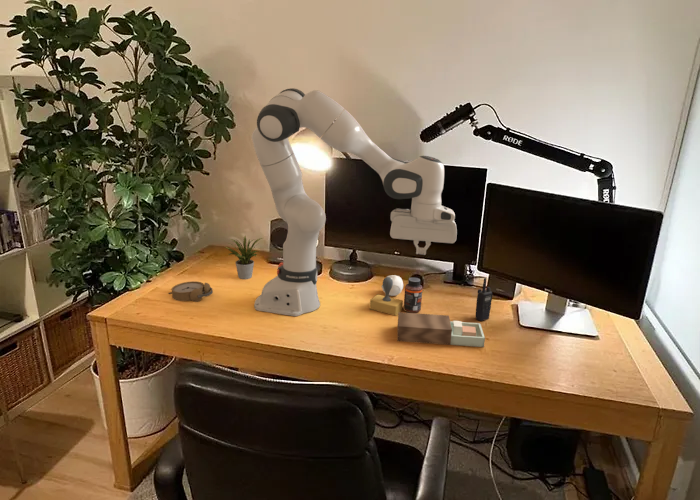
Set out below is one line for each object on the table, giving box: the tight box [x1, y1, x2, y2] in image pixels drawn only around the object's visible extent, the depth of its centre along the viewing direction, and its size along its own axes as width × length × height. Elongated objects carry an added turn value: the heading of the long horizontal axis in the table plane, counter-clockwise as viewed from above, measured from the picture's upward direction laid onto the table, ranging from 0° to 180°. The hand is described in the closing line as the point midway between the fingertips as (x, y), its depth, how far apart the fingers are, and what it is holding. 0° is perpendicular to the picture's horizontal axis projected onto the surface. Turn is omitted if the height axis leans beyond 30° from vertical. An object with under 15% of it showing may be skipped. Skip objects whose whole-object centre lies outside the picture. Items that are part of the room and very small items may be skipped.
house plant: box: [224, 235, 263, 280], centre depth 209 cm, size 14×14×16 cm
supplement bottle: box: [403, 277, 423, 314], centre depth 184 cm, size 6×6×11 cm
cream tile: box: [452, 320, 463, 336], centre depth 167 cm, size 4×4×2 cm
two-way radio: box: [474, 277, 493, 322], centre depth 179 cm, size 6×4×15 cm
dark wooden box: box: [396, 311, 452, 346], centre depth 167 cm, size 16×10×5 cm, turn 85°
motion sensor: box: [381, 274, 404, 297], centre depth 196 cm, size 8×8×8 cm
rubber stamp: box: [369, 276, 404, 316], centre depth 184 cm, size 10×6×12 cm, turn 62°
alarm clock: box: [168, 281, 214, 303], centre depth 191 cm, size 11×5×15 cm
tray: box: [450, 320, 486, 348], centre depth 167 cm, size 10×10×3 cm
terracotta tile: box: [462, 326, 476, 337], centre depth 167 cm, size 4×4×2 cm
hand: (420, 253), depth 167 cm, fingers closed
